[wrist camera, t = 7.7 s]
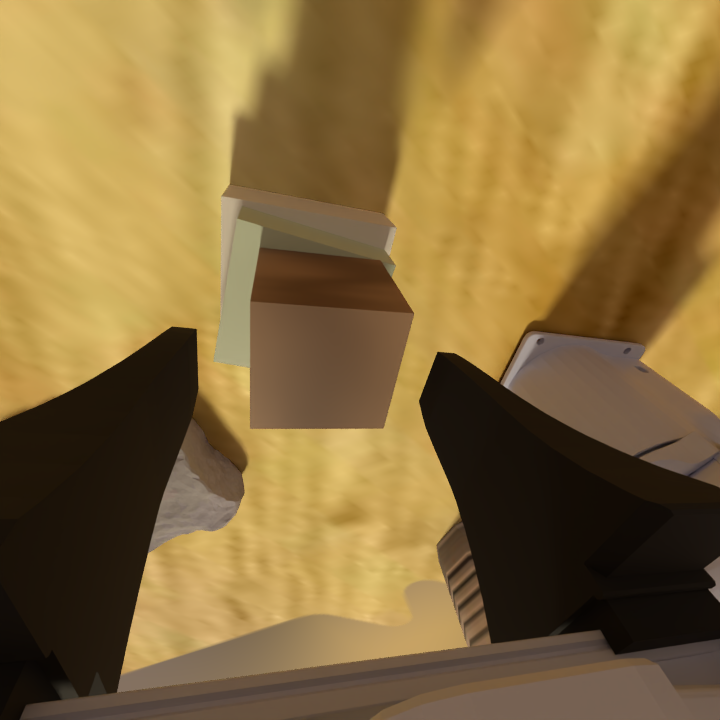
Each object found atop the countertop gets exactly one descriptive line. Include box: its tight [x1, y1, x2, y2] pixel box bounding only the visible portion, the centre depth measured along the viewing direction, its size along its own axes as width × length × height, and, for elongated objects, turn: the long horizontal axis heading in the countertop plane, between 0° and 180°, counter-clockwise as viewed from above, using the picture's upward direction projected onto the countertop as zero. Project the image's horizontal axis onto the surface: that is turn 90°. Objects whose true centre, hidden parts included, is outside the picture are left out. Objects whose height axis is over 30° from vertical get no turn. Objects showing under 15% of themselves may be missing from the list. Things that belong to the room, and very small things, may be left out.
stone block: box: [148, 419, 244, 553], centre depth 23 cm, size 12×5×10 cm
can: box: [437, 522, 491, 647], centre depth 33 cm, size 11×11×12 cm
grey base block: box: [221, 184, 396, 313], centre depth 18 cm, size 7×7×3 cm
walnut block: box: [250, 247, 414, 429], centre depth 13 cm, size 4×4×4 cm
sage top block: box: [214, 206, 396, 368], centre depth 16 cm, size 6×6×2 cm
